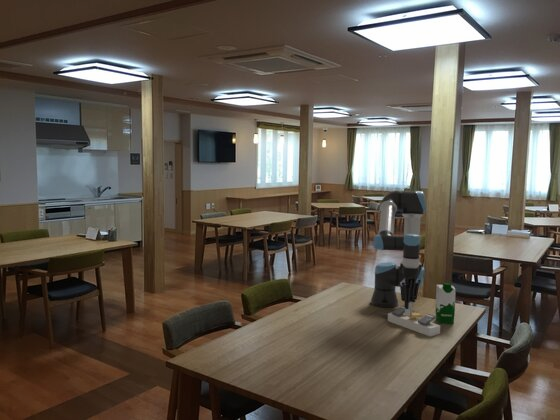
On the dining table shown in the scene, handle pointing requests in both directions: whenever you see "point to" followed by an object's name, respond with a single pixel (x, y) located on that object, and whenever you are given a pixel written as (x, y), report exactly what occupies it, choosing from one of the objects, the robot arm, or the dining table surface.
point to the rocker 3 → (426, 319)
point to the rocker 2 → (414, 315)
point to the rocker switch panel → (413, 324)
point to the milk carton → (445, 303)
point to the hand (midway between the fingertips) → (408, 314)
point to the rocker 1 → (399, 311)
